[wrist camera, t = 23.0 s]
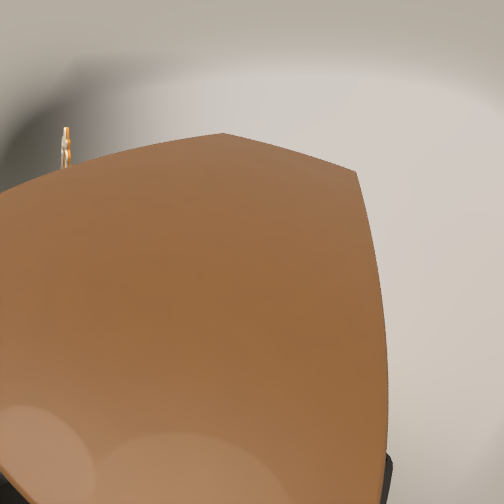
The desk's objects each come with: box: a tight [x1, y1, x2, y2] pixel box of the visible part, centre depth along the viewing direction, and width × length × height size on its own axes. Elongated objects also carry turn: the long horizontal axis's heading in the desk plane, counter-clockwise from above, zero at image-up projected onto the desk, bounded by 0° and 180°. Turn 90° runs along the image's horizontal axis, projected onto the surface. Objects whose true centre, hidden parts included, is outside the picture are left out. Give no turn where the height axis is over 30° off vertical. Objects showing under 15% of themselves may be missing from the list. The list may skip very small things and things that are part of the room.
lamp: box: [61, 127, 71, 169], centre depth 72 cm, size 17×9×32 cm, turn 44°
